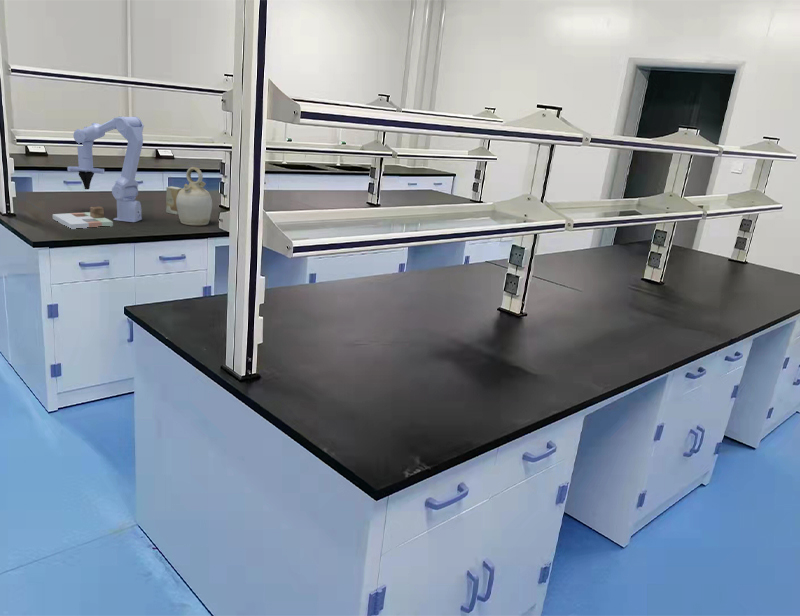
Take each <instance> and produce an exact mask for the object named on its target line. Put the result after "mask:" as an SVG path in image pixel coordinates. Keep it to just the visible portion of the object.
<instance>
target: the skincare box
mask: <svg viewBox="0 0 800 616" xmlns="http://www.w3.org/2000/svg"><path fill="white" fill-rule="evenodd" d="M165 188H166V190H165V191H166V196H165V197H166V198H165V199H166V205H165V207H166V211H165V213H167V214H171V215H178V210H177V205H176V198H177V195H178V193H179V191H180V190H181V189H183V188H184V187H183V188H182V187H178V186H172V185H171V186H166V187H165Z"/></svg>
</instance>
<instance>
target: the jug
mask: <svg viewBox="0 0 800 616" xmlns="http://www.w3.org/2000/svg"><path fill="white" fill-rule="evenodd" d="M193 171H195V172H196V173H197V176H198V178H197V180H196V181H195V180H193V179H192V176H191V175H192V172H193ZM185 174H186V175H185V176H186V180H187V182H188V183H185V184H184V186H183V189H181V190H180V191H179V193H178V195H177V198H176V205H177V210H178V214H177V215H178V218H179V222H180V223H181V224H182V225H186V226H206V225H209V222H210V220H211V214H212V210H213V209H212V208H213V200H212V196H211V194H210V192H209V191H208V190H207V189H205V186H206V184H207V183H206V182H204V181H203V177H204V176H203V173H202V170H200V168H199V167H197V166H191V167H189V168H188V169H187V170H186V173H185Z"/></svg>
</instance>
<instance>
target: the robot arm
mask: <svg viewBox="0 0 800 616" xmlns="http://www.w3.org/2000/svg"><path fill="white" fill-rule="evenodd" d="M144 127H145V125H144V124H143V122H142V120H141V119H140V118H139V117H138V116H136V115H135V116H118V117H113V118H111V119H110V120H108V121H106V122H104V123H102V124H100V123H97V122H92V123H91V125H89V126H83V128H82V129H81V128H77V129H76V130H74V132H73V139H74V141H75V142H76V144H77V143H78V145H83V146H77V161H78V162H77V163H78V166H67V167H66V168H67V172H73V173H74V172H77V173H78V176H79V178H80V180H81V182H82V183H83V187H84V189H85V190H89V189H90V187H91V182H92V180H93V178H94V174H101V175H104V174H105V168H97V167H94V164H93V163H94V161H93V160H94V158H93V147H92V146H94V142H95V141H97V140H98V139H101V138H102V137H105V135H106V133H107V132H110V131H112V130H117V131H118V133H120V135H121V136H122V137H123V138H124V139H125V140H126V141H127V146H126V149H125V150H126V151H125V155H124V160H123V165H122V169H121V174H120V176H119V178H117V179H116V180H115V183H114V185H113V186H112V188H111V195H112V196H113V197H114V199H115V200H116V215H117V217H114V218H113V221H120V222H128V223H129V222H130V223H137V222H139V221H141V220H143V217H142V204H141V202H140V201H139V200H136V197H137V196H138V194H139V188H138V187H139V182H138V181H137V180H135V179H136V175H137V171H138V166H139V161H140V158H141V152H142V149H143V143H144V137H143V136H144V135H143V132H144V131H143V130H144ZM80 143H82V144H80Z"/></svg>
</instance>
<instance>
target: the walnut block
mask: <svg viewBox="0 0 800 616" xmlns="http://www.w3.org/2000/svg"><path fill="white" fill-rule="evenodd" d="M104 209H105V208H103V207H102V206H90V207H89V212H90V216H91V217H93V218H105V212H104Z"/></svg>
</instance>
